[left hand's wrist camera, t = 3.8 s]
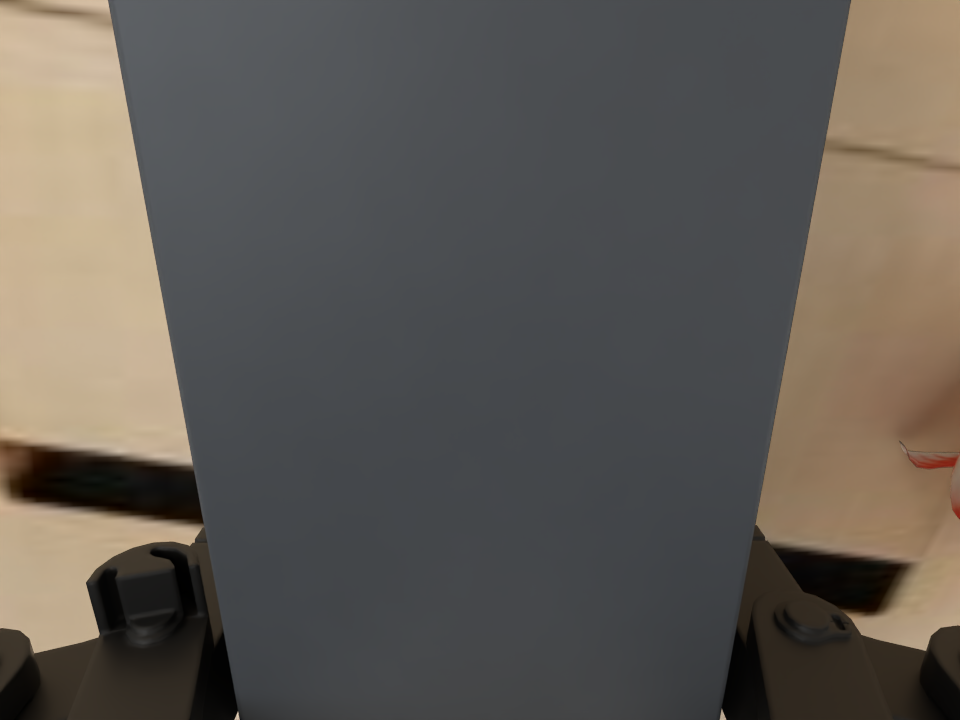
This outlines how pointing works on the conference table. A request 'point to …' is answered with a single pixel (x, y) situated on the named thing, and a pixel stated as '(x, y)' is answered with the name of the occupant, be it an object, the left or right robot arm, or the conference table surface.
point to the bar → (479, 334)
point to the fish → (940, 461)
